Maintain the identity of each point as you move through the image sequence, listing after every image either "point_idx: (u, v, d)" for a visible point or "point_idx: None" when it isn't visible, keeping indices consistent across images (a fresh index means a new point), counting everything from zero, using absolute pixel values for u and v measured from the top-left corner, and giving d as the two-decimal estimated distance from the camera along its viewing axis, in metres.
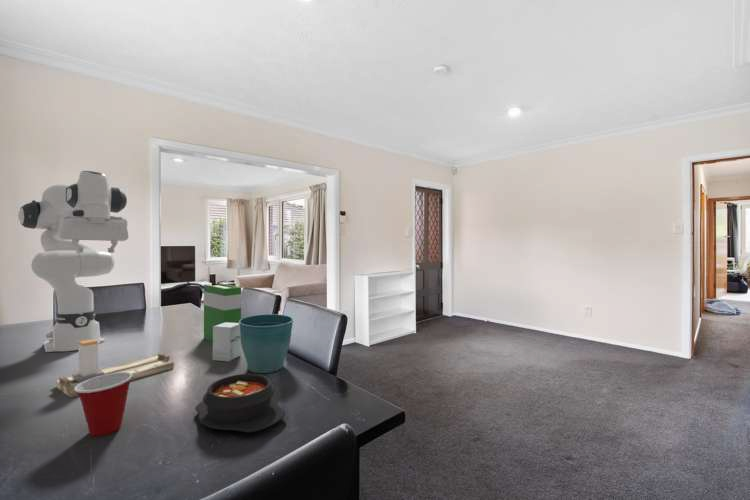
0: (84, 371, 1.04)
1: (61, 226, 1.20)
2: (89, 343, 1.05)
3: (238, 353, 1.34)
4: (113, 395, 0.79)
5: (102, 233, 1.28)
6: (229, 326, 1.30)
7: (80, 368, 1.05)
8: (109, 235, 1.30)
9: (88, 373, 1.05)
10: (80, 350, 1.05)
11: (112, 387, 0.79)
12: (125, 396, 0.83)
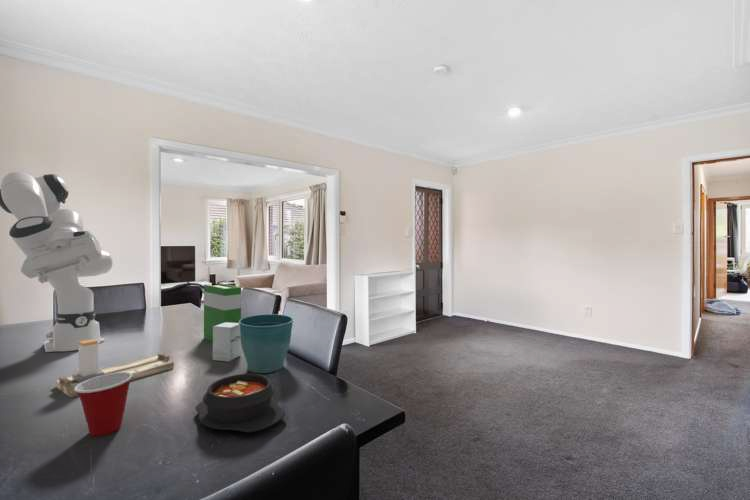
0: (84, 371, 1.04)
1: (99, 247, 1.16)
2: (89, 343, 1.05)
3: (238, 353, 1.34)
4: (113, 395, 0.79)
5: None
6: (229, 326, 1.30)
7: (80, 368, 1.05)
8: None
9: (88, 373, 1.05)
10: (80, 350, 1.05)
11: (112, 387, 0.79)
12: (125, 396, 0.83)
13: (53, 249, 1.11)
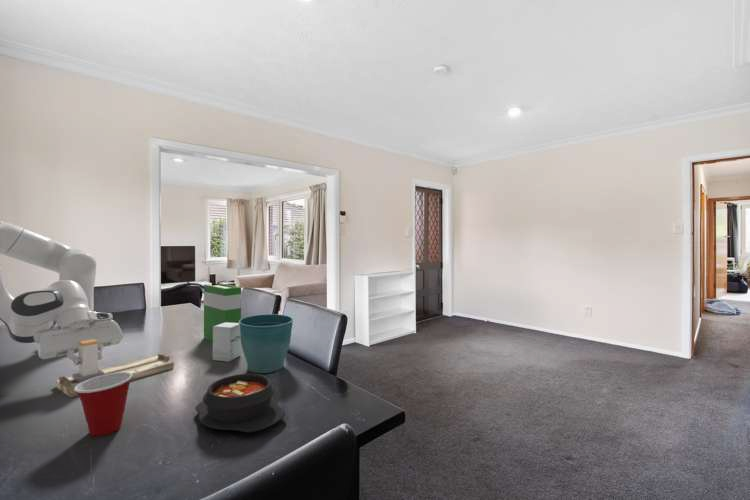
0: (84, 371, 1.04)
1: None
2: (89, 343, 1.05)
3: (238, 353, 1.34)
4: (113, 395, 0.79)
5: None
6: (229, 326, 1.30)
7: (80, 368, 1.05)
8: None
9: (88, 373, 1.05)
10: (80, 350, 1.05)
11: (112, 387, 0.79)
12: (125, 396, 0.83)
13: (75, 329, 1.07)
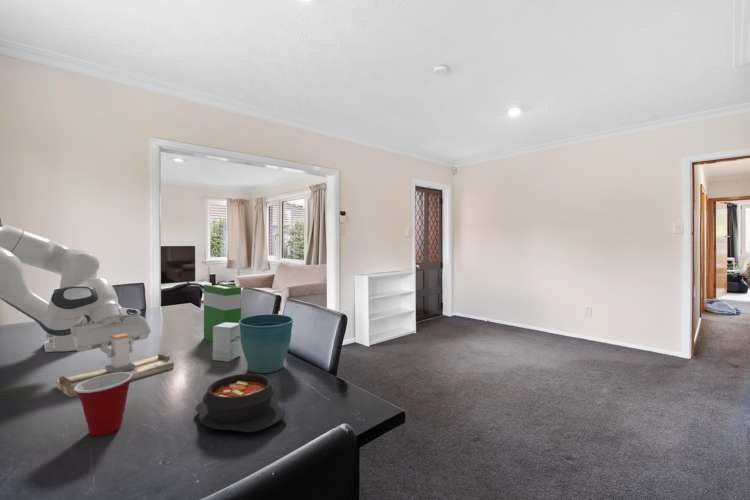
0: (117, 363, 1.11)
1: None
2: (121, 337, 1.12)
3: (238, 353, 1.34)
4: (113, 395, 0.79)
5: None
6: (229, 326, 1.30)
7: (113, 360, 1.12)
8: None
9: (120, 365, 1.12)
10: (113, 343, 1.12)
11: (112, 387, 0.79)
12: (125, 396, 0.83)
13: (107, 324, 1.14)
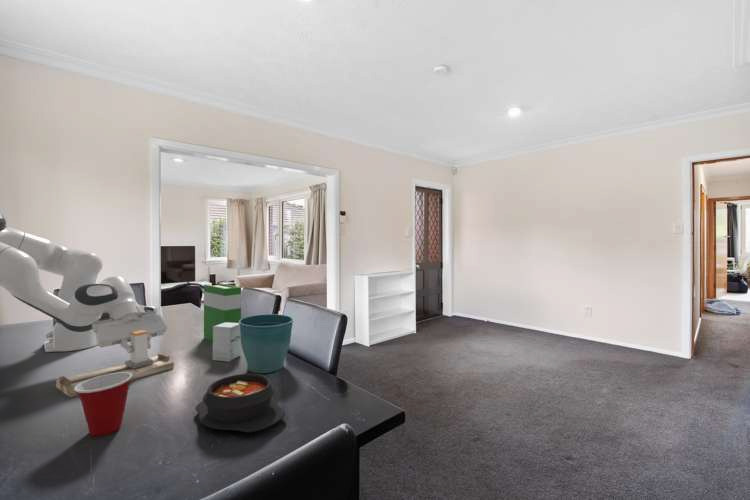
0: (136, 358, 1.15)
1: None
2: (140, 333, 1.16)
3: (238, 353, 1.34)
4: (113, 395, 0.79)
5: None
6: (229, 326, 1.30)
7: (132, 356, 1.16)
8: None
9: (139, 360, 1.16)
10: (132, 339, 1.16)
11: (112, 387, 0.79)
12: (125, 395, 0.83)
13: (126, 321, 1.19)
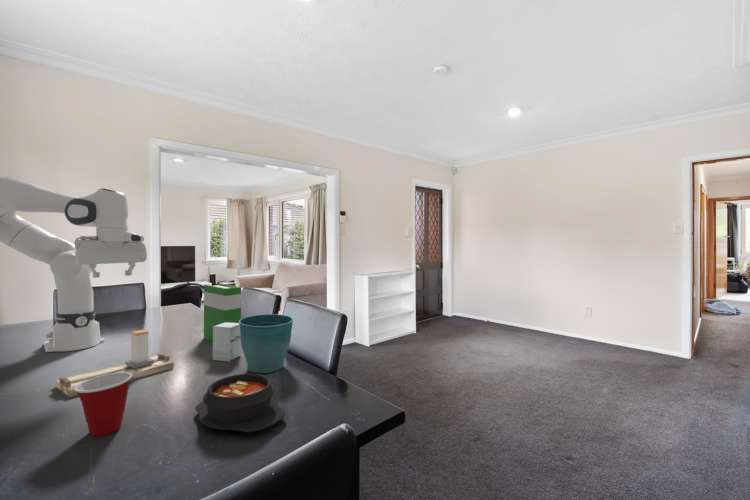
0: (137, 358, 1.16)
1: None
2: (141, 333, 1.16)
3: (238, 353, 1.34)
4: (113, 395, 0.79)
5: None
6: (229, 326, 1.30)
7: (133, 356, 1.16)
8: None
9: (140, 360, 1.16)
10: (133, 339, 1.16)
11: (112, 387, 0.79)
12: (125, 395, 0.83)
13: (109, 246, 1.19)
